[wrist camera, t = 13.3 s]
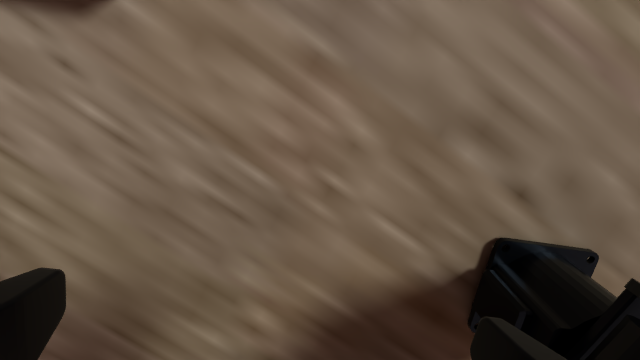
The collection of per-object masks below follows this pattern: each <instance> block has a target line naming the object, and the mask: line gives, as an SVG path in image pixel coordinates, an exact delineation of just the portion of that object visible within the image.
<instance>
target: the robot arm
mask: <svg viewBox="0 0 640 360" xmlns="http://www.w3.org/2000/svg"><path fill="white" fill-rule="evenodd" d="M504 245H506V247H505V248H504V249H502V247H503V246H504ZM588 257H589V259H587V258H588ZM598 260H599V256H598V255H597V253H595V252H594V251H592V250H590V249H583V248H576V247H569V246H562V245H554V244H547V243H540V242H533V241H525V240H518V239H511V238H500V239H498V240H497V241H496V242H495V244H494V247H493V250H492V253H491V256H490V258H489V261H488V264H487V267H486V270H485V271H484V273H483V276H482V278H481V281H480V284H479V287H478V290H477V293H476V296H475V299H474V302H473V305H472V306H473V308H472V311H471V314H470V317H469V319H468V326H469V328H470V330H471V331H472V332H474V333H475V335H474V338H473V341H472V343H471V348H470V353H471V358H472V360H640V282H638V281H636V280H635V279H633V278H632V279H631V280H630V281H629V282H628V283H627V284H626V285H625V286H624V287H625V288H626V289H625V290H624V291H623V292H622V293H621V294H620V296H619V297H618V298H617V297H616V296H614V295H613V294H612V293H610V292H609V291H608V290H606V289H605V288H604V287H602V286H601V285H600V284H598V283H597V282H596V281H594V280H593V279H592V278H591V276H592V274H593V272H594V269H595V267H596V265H597V263H598ZM65 308H66V281H65V274H64V272H63V271H62V270H60V269H51V268H38V269H35V270H32V271H29V272H26V273H23V274H20V275H18V276H15V277H12V278H9V279H6V280H3V281H0V360H38V358H39V356H40V355H41V353H42V351H43V350H44V348H45V346H46V344H47V343H48V341H49V339H50V338H51V336H52V334H53V332H54V331H55V329H56V327H57V326H58V324H59V322H60V320H61V319H62V317H63V315H64V312H65ZM477 323H478V325H475V324H477Z"/></svg>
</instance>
